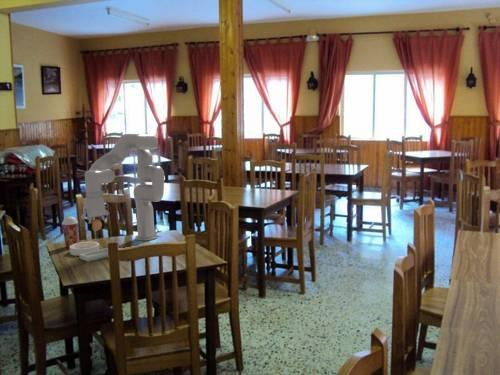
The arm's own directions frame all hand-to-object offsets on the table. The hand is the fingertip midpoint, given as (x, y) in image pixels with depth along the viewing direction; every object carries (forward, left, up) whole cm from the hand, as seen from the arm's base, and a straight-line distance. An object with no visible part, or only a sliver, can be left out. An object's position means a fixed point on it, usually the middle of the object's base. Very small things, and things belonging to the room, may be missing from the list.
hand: (96, 229), depth 268 cm
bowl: (0, -15, -14) cm, 21 cm away
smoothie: (0, -30, -15) cm, 33 cm away
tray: (0, 0, -14) cm, 14 cm away
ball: (0, 0, +2) cm, 2 cm away
